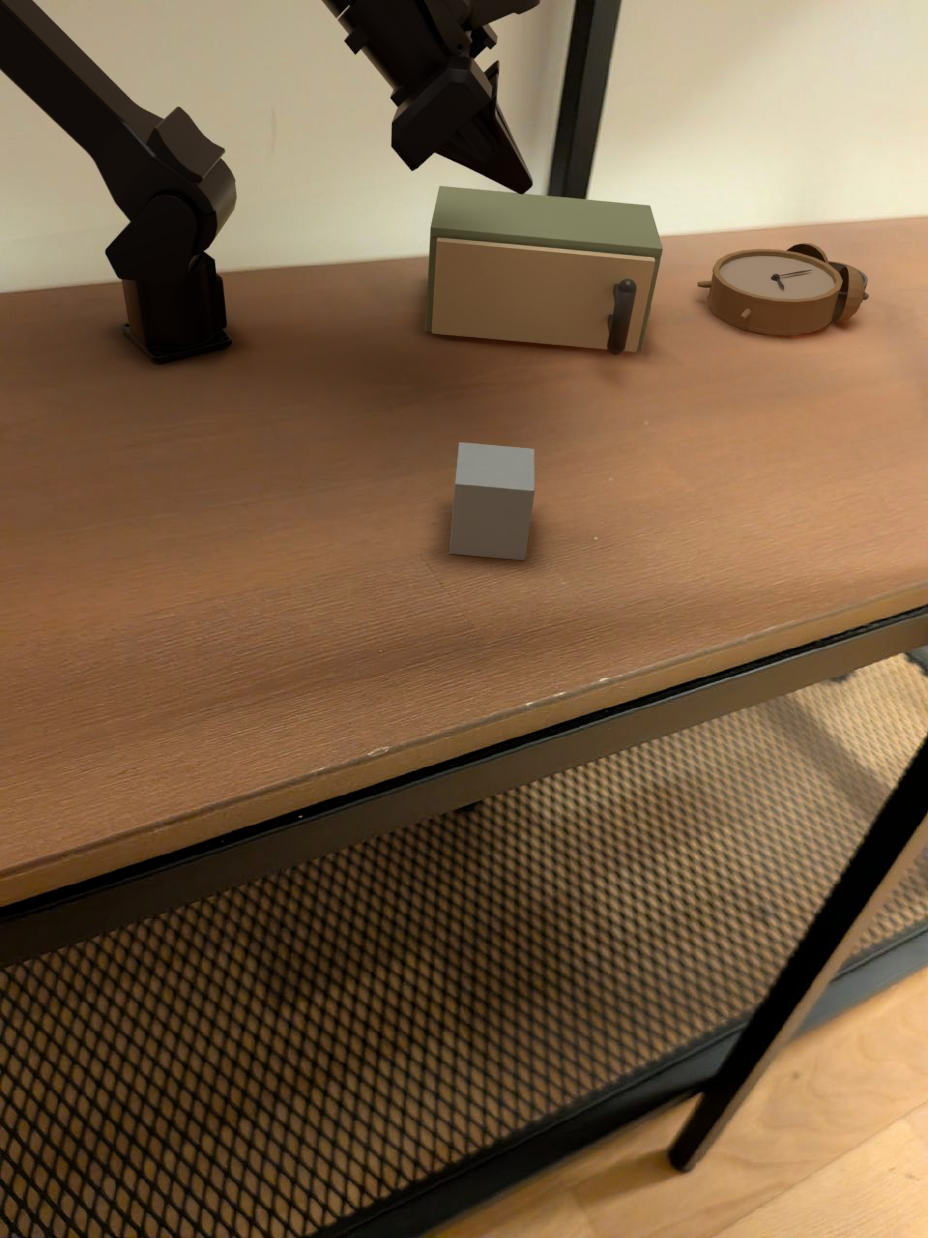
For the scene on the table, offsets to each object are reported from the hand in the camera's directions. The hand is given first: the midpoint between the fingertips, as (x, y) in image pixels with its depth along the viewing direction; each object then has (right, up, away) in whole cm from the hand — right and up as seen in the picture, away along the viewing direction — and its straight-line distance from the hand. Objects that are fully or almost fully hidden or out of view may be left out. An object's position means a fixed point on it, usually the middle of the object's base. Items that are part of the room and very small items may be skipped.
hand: (527, 188), depth 66 cm
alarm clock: (+25, -1, +22) cm, 33 cm away
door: (+1, -9, +10) cm, 14 cm away
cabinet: (+2, -3, +17) cm, 17 cm away
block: (-3, -25, -8) cm, 26 cm away
